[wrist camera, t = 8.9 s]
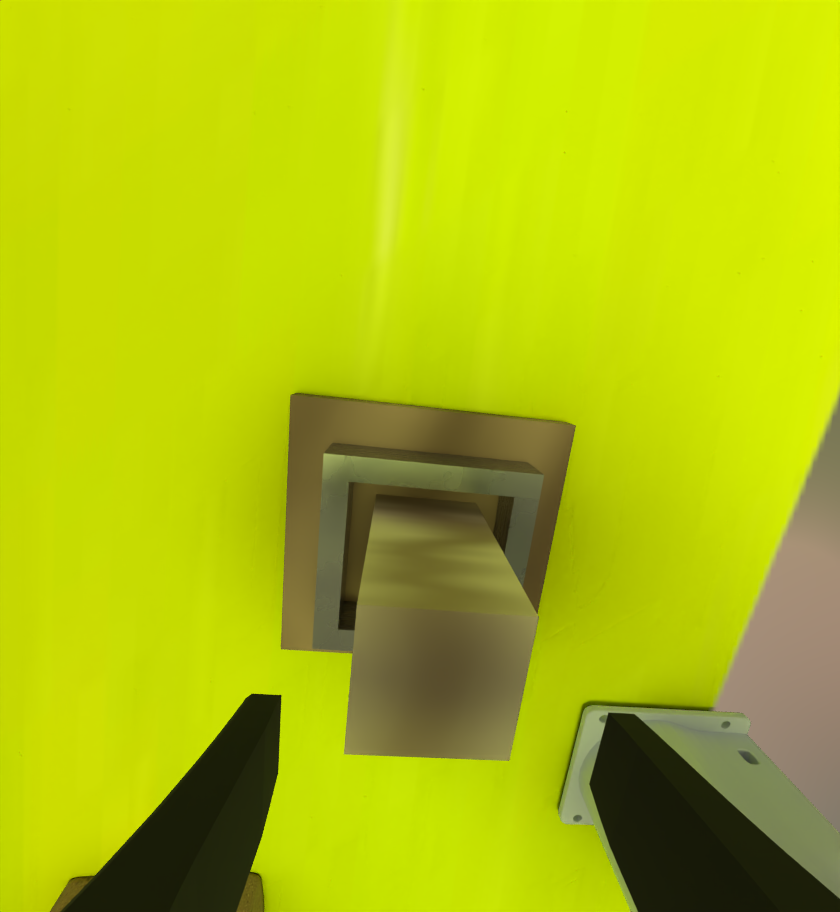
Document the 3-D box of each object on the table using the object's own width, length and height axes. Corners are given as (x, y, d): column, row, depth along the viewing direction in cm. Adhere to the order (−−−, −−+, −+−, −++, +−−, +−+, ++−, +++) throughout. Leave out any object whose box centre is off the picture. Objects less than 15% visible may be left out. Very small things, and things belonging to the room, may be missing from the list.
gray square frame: (527, 462, 17) (544, 474, 15) (497, 629, 19) (508, 660, 17) (332, 442, 16) (323, 453, 14) (321, 618, 18) (312, 648, 16)
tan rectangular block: (475, 502, 17) (538, 616, 9) (462, 591, 18) (509, 761, 10) (376, 493, 17) (356, 604, 9) (368, 584, 18) (344, 754, 10)
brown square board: (566, 422, 18) (576, 425, 17) (521, 649, 20) (527, 663, 19) (296, 392, 17) (290, 395, 16) (286, 634, 19) (281, 649, 18)
